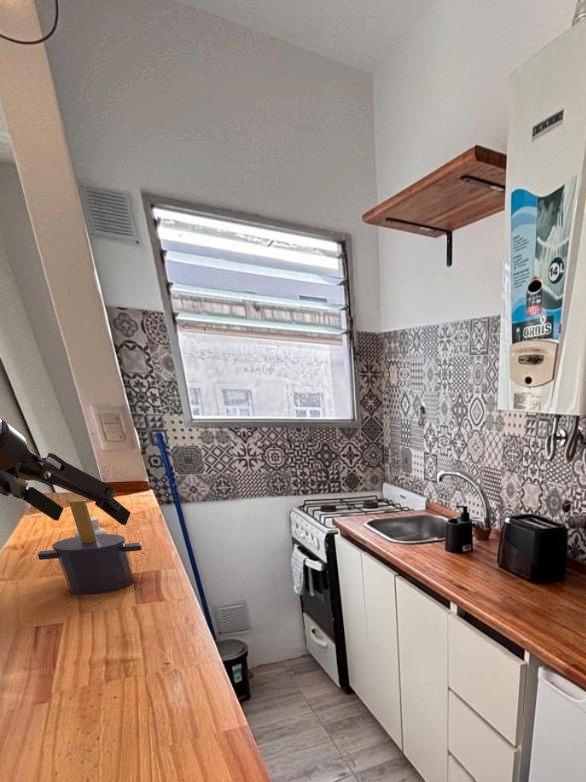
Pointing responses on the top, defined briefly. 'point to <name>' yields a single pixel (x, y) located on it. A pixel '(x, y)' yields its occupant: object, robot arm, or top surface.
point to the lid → (86, 533)
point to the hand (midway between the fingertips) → (92, 516)
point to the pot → (96, 568)
